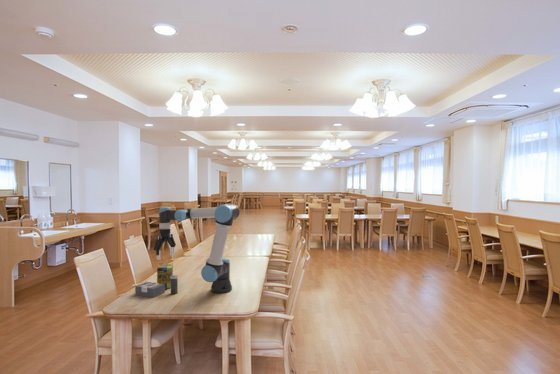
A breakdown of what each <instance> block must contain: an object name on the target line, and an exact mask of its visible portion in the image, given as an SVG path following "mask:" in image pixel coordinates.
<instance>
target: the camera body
mask: <svg viewBox="0 0 560 374" xmlns="http://www.w3.org/2000/svg"><path fill="white" fill-rule="evenodd" d="M134 289H135V290H134V293H135V296H141V297H147V298H152V299H153V298H156V297H158V296H160V295H162V294H165V293H166V292H165V284H159V283H157V282H151V281H150V282H149V281H146V280H145V281H144V282H143V283H140V284H138V285H135V286H134Z"/></svg>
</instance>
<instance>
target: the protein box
mask: <svg viewBox="0 0 560 374" xmlns="http://www.w3.org/2000/svg"><path fill="white" fill-rule="evenodd" d="M173 267H174V263H173V262H172V263H171V262H169V263H168V262H166V263H163V262H162V263H158V266H157V269H156V270H157V271H156V283H159V284H165V289H171V276H174V274H173V272H174V268H173Z"/></svg>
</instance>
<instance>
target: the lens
mask: <svg viewBox="0 0 560 374" xmlns="http://www.w3.org/2000/svg"><path fill="white" fill-rule="evenodd" d="M178 278H179V276H178V275H174V274H173V276H171V288H170V295H177V294H178V284H179V283H178V282H179V281H178V280H179V279H178Z"/></svg>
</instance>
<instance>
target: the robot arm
mask: <svg viewBox="0 0 560 374" xmlns="http://www.w3.org/2000/svg"><path fill="white" fill-rule="evenodd" d="M240 213H241V209H240V208H239V206H238V205H237V204H235V203H225V204H220V205H218V206H215V207H214V206H213V207H211V206H210V207H197V208H194V207H193V208H182V209H171V207H170V206H164V207H163V206H161V207H159V212H158V216H159V220H158V221H159V223H158V224H159V235H158V236H156V240H155V245H154V248H153V251H155V255H156V260H157V261H161V257H162V256H161V248H162V246H163V244H164V243H165V242H167V243H168V245H169V256H170V257H174V256H175V255H174V254H175V253H174V251H175V247H176V245H177V244H176V242H175V240H174V239H175V238H174V234H173V233H171V221H178V222H180V221H181V222H182V221H185V220H191V219H192V220H193V219H210V218H211V219H212V218H214V220H215V221H214V223H215V225H216V227H215V232H214V236H213V240H212V245H211V249H210V253H209V258H207V259H206V260H205V265H204V266H203V267H202V268H201V270H200V274H201V277H202V279H203V280H204V281H205V282H208V283H211V287H210V292H212V293H216V294H225V292H226V293H229V292H231V291H232V290H233V285H232V283H231V279H230V278H231V277H230V275H231V274H230V268H231V267H230V266H231V265H230V264H231V262H230V259H229V258H227V257H225V258H224V256H223V255H224V252H225V246H226V241H227V239H228V235H229V231H230V230H229V229H230V227H232V226H233V223H234V220H236V219H237V218H238V217H239V216H240Z"/></svg>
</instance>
